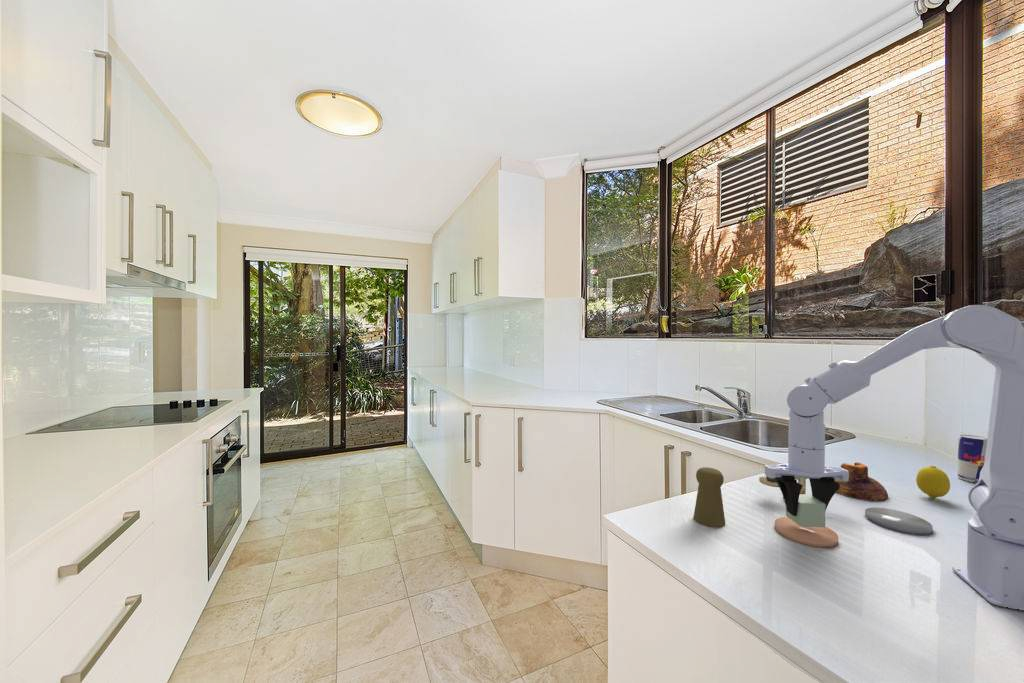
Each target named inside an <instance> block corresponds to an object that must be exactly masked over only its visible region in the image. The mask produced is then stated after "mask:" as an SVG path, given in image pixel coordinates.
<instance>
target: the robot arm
mask: <svg viewBox="0 0 1024 683" xmlns="http://www.w3.org/2000/svg"><path fill="white" fill-rule="evenodd" d="M949 343H951V344H954V345H956V346H959V347H961V348H965V349H967V350H969V351H972V352H975V353H976V355H978V356H979V357H981V358H983V360H985V361H986V362H988V363H989V364H991V365H992V366H994V368H995V373H994V380H993V382H994V383H993V390H992V399H991V407H990V415H989V422H988V423H989V424H988V432H987V437H986V438H987V447H986V455H985V463H984V466H983V468H982V470H981V472H980V477H979V481H978V482H977V483H975V484H974V485H973V486H972V487H970V489H969V491H968V495H967V497H968V502H969V504H970V506H971V508H973V510H974V511H975V512H976V514H974V516H973V517H972V518H970V519H968V520H967V548H966V549H967V552H966V555H967V556H966V560H967V561H966V568H963V567H962V568H961V567H955V566H953V567H951V568H952V571H953V572H954V573H956V574H957V575H958V576H959V577H960V578H961V579H962V580H964V582H966V583H967V584H968V585H969V586H970V587H971V588H973V590H975V591H976V592H977V593H979V595H981V597H983V598H984V599H985V600H987V601H988V602H989V603H990V604H992V605H994V606H999V607H1002V608H1003V607H1004V608H1007V607H1008V608H1007V609H1011V610H1017V609H1019V610H1018V611H1022V610H1024V325H1023V324H1022V322H1021V321H1020V319H1018V318H1016V317H1015V316H1013V315H1010V314H1008V313H1006V312H1004V311H1002V310H1000V309H999V308H996V307H994V306H990V305H984V304H972V305H967V306H964V307H960V308H959V309H955V310H952V311H951V312H949V313H947V314H945V316H940V317H938V318H936V319H933V320H931V321H928V322H925V323H923V324H921V325H918V326H916V327H913V328H911V329H909V330H908V331H906V332H905V333H903V334H901V335H899V336H898V337H896V338H894V339H893V340H891V341H889V342H888V343H886V344H885V345H883V346H881V347H879V348H877V349H876V350H875V351H873V352H871V353H869V354H867V355H866V356H864V357H863V358H861V359H859V360H857V361H853V360H846V359H843V360H841V361H840V362H838V363H837V361H833V362H831V363H830V364H828V365H827V367H829V368H828V369H826V370H824V371H822V372H820V373H819V374H817V375H815V376H814V377H812V378H811V377H807V378H806V379H804V381H803V382H805V384H802V385H798V386H795V387H794V388H793V389H792V390H790V392H789V393H788V394H787V396H786V404H787V406H788V409H789V413H788V414H789V415H788V416H789V420H788V440H787V441H788V442H787V444H788V445H787V448H788V452H787V454H788V455H787V457H788V458H787V462H788V463H783V464H781V463H780V464H771V465H766V464H765V465H764V476H765V477H766V476H768V477H769V478H774V479H775V480H776V482H777V484H778V486H779V487H778V488H779V489H780V492H781V494H782V498H783V497H784V498H783V500H784V503H785V509H786V508H787V512H789V513H790V514H791V515H793V516H797V512H798V500H799V495H800V491H801V488H802V485H801V484H799V483H798V480H795V478H809V479H808V480H809V484H810V489H811V490H810V491H811V496H813V497H814V498H816V499H818V500H819V501H821V502H823V503H825V504H826V510H827V509H828V507H829V504H830V501H831V500H832V498H833V497H834V495H835V494H836V493H837V491H838V490H839V488H840V484H839V483H837V482H835V479H841V480H844V481H849V471H848V470H845V469H843V468H841V467H840V466H839V467H838V466H837V467H836V466H827V465H826V464H825V462H826V458H825V456H826V455H825V454H826V453H825V452H826V449H825V448H826V424H825V422H824V419H825V417H824V416H825V415H824V410H825V408H826V407H827V405H828V404H829V405H830V404H832V405H835V404H837V403H839V402H841V401H842V400H845V399H846V398H848V397H851V396H853V395H854V394H856V393H858V392H860V391H861V390H863V389H865V388H867V387H869V386H870V384H871V378H872V377H871V376H872V375H874V374H876V373H878V372H881V371H882V370H884V369H886V368H888V367H890V366H892V365H895V364H896V363H898V362H900V361H902V360H904V359H906V358H908V357H910V356H912V355H914V354H915V353H918V352H920V351H922V350H928V349H930V350H931V349H937V348H945V347H950V344H949Z"/></svg>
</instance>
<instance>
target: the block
mask: <svg viewBox="0 0 1024 683" xmlns="http://www.w3.org/2000/svg"><path fill="white" fill-rule="evenodd" d="M826 511H827V509H826V504H825V503H823V502H821V501H819V500H818V499H816V498H814V497H813V496H812V494H800V495H799V500H798V512H797V516H793V515H791V514H790V513H789V512H787V508H786V507H785V517H788V518H790V519H791V520H792V521H794V522H795V523H797V524H798V525H799V526H803V527H825V526H826Z"/></svg>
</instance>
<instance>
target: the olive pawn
mask: <svg viewBox="0 0 1024 683" xmlns="http://www.w3.org/2000/svg"><path fill="white" fill-rule="evenodd" d="M695 478H696V481H697V483H698V486H697V491H696V492H697V493H696V497H695V498H696V500H695V504H694V505H695V506H694V511H693V520H694V522H696V523H698V524H699V525H701V526H705V527H707V528H713V529H720V528H724V527H726V517H725V510H724V504H723V496H722V489H721V487H722V486H723V484H724V482H725V481H724V480H725V479H724V474H723V473H722V472H721V471H720V470H719V469H717V468H713V467H705V466H704V467H700V468H698V469H697V471H696V473H695Z"/></svg>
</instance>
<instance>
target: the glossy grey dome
mask: <svg viewBox="0 0 1024 683" xmlns="http://www.w3.org/2000/svg"><path fill="white" fill-rule="evenodd" d="M864 517H865V518H866V519H867V520H868V521H870V522H871V523H873V524H876V525H878V526H880V527H883V528H886V529H888V530H892V531H895V532H900V533H903V534H909V535H915V536H916V535H917V536H918V535H919V536H927V535H928V536H929V535H932V533H933V524H932V523H930V522H929V521H927V520H926V519H923V518H922V517H920V516H917V515H914V514H911V513H908V512H905V511H901V510H896V509H892V508H885V507H868V508H865V510H864Z"/></svg>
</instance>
